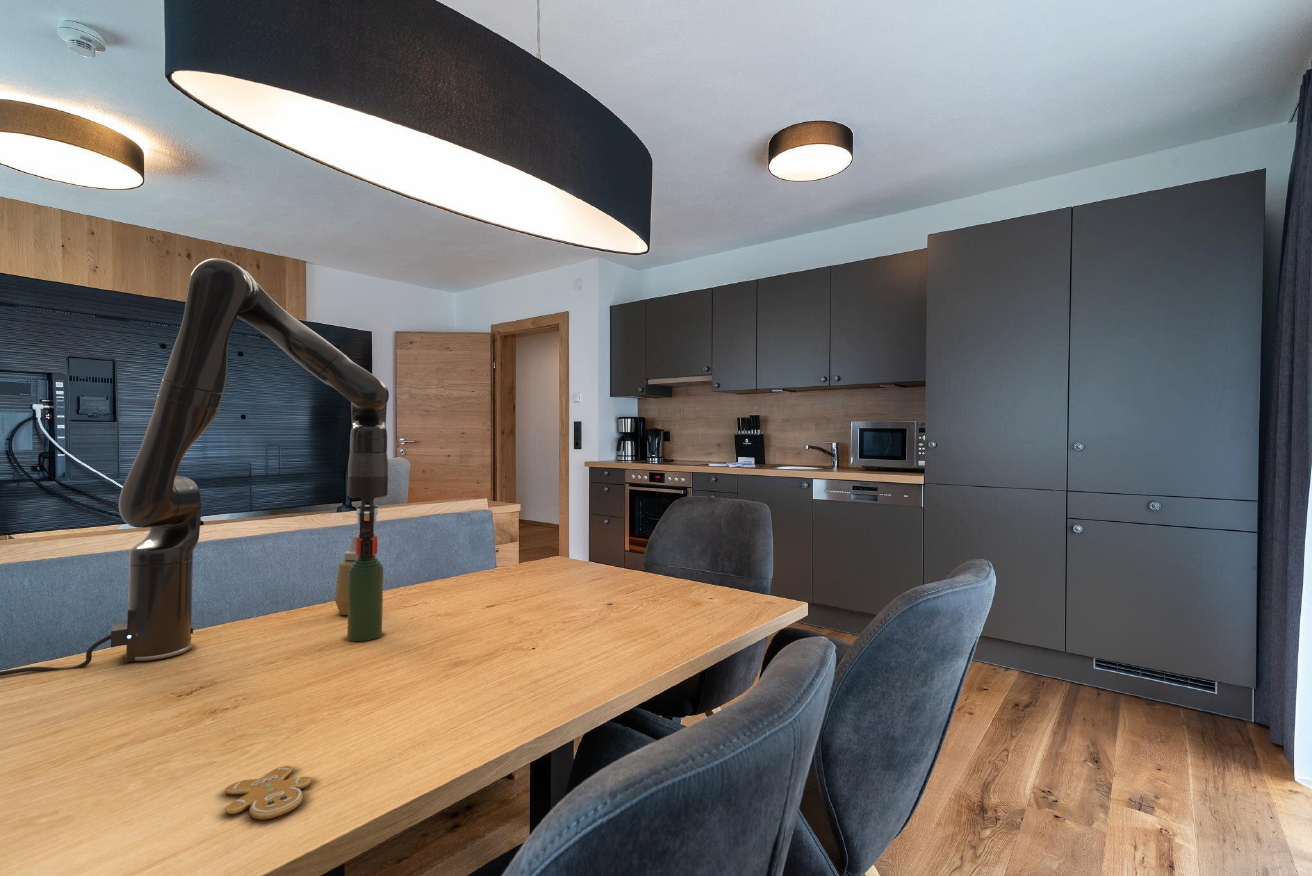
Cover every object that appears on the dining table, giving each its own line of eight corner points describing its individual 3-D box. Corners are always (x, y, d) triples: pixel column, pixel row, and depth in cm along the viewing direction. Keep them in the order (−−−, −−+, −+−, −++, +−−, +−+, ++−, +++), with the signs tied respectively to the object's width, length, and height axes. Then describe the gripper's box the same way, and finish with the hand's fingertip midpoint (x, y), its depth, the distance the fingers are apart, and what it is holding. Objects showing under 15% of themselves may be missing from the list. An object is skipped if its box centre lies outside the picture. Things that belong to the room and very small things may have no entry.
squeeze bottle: (379, 611, 138) (381, 535, 138) (346, 619, 131) (348, 539, 131) (360, 606, 142) (362, 532, 143) (327, 613, 135) (328, 536, 136)
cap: (378, 552, 123) (378, 534, 123) (374, 555, 119) (375, 537, 119) (358, 553, 122) (358, 535, 122) (354, 556, 118) (354, 538, 118)
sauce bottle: (352, 643, 115) (354, 542, 116) (343, 635, 120) (345, 539, 121) (386, 636, 120) (387, 539, 120) (376, 629, 124) (378, 536, 125)
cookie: (297, 757, 72) (326, 789, 65) (296, 765, 72) (325, 798, 65) (214, 786, 65) (236, 824, 59) (214, 794, 65) (236, 834, 59)
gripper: (388, 475, 116) (386, 561, 116) (387, 472, 129) (385, 550, 128) (346, 475, 113) (344, 564, 112) (349, 473, 126) (347, 552, 125)
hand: (366, 556), depth 120 cm, fingers closed on cap, 3 cm apart
